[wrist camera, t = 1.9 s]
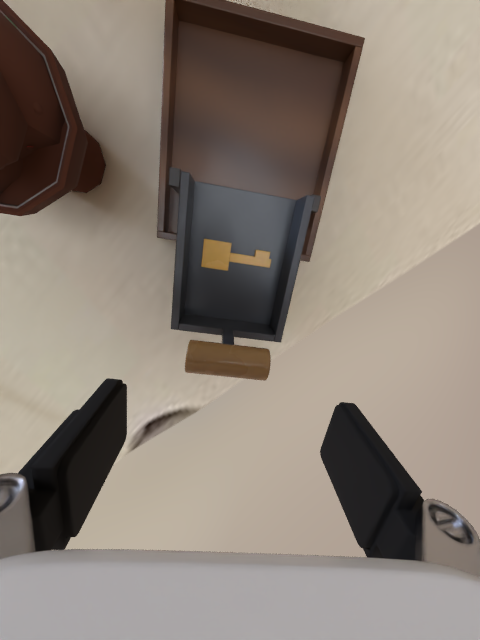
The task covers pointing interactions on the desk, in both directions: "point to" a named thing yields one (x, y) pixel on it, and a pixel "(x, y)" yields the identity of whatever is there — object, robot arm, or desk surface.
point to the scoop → (235, 274)
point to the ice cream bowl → (39, 125)
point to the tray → (251, 104)
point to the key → (230, 256)
